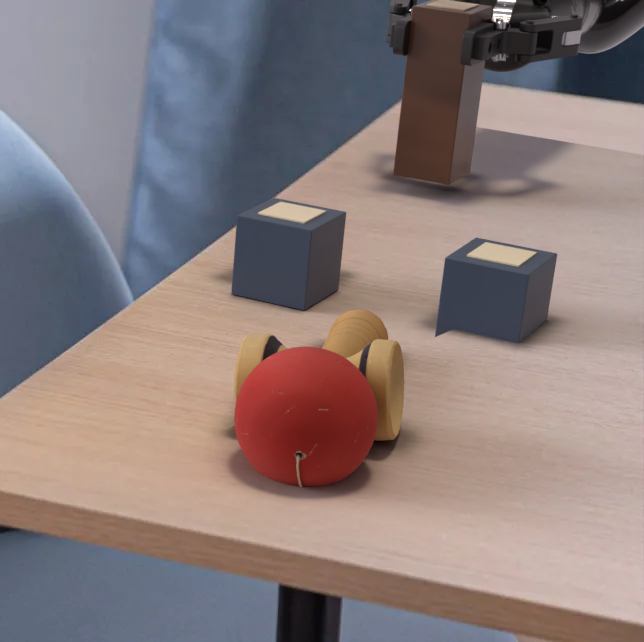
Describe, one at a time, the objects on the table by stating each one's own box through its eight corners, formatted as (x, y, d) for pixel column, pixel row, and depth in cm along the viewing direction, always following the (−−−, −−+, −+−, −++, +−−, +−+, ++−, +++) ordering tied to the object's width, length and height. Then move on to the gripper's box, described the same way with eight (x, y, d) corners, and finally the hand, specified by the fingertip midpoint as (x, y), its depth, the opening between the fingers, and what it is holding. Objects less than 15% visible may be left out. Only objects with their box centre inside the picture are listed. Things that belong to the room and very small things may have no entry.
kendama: (261, 379, 90) (180, 470, 73) (297, 260, 87) (222, 326, 71) (407, 427, 88) (359, 531, 72) (447, 308, 86) (407, 386, 69)
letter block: (415, 163, 121) (435, -4, 116) (470, 173, 119) (493, 4, 114) (392, 175, 118) (412, 4, 113) (448, 185, 116) (471, 12, 111)
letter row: (230, 294, 98) (236, 213, 96) (267, 274, 101) (273, 195, 99) (516, 358, 90) (529, 272, 88) (544, 334, 94) (558, 251, 92)
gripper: (611, 76, 124) (530, 119, 111) (422, 49, 130) (324, 86, 117) (629, -34, 121) (548, -4, 107) (434, -57, 127) (335, -31, 114)
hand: (432, 43), depth 112 cm, fingers closed on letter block, 4 cm apart
